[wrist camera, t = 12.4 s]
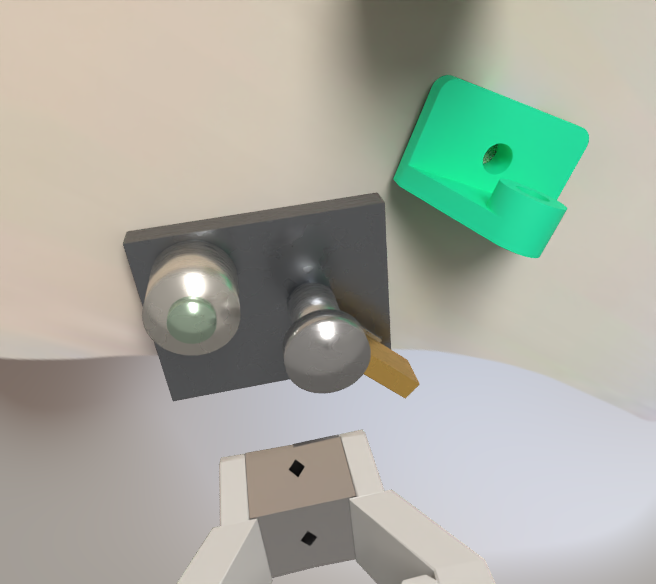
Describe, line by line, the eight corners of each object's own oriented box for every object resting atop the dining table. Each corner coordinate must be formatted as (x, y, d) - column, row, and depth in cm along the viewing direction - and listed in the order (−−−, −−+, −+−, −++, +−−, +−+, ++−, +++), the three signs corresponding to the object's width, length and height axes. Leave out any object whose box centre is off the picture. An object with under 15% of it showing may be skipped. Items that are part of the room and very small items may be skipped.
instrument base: (377, 192, 40) (409, 236, 34) (385, 346, 47) (412, 406, 41) (126, 231, 38) (108, 286, 32) (174, 385, 46) (167, 455, 39)
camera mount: (573, 123, 41) (672, 165, 32) (523, 216, 44) (600, 278, 35) (433, 67, 37) (501, 97, 28) (389, 174, 40) (437, 231, 31)
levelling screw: (259, 312, 41) (267, 370, 35) (306, 256, 39) (322, 307, 33) (373, 378, 46) (397, 439, 40) (418, 332, 44) (450, 387, 38)
